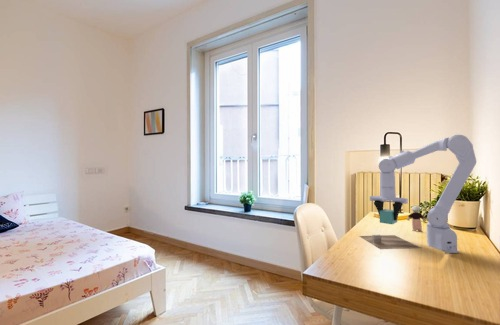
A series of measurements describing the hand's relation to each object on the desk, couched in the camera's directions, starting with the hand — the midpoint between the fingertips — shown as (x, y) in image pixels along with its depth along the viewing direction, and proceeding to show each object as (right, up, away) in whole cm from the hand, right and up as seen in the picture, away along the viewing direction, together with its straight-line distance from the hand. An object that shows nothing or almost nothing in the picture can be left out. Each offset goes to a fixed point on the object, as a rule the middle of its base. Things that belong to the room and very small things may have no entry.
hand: (388, 219), depth 112 cm
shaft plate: (-2, -10, -4) cm, 11 cm away
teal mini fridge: (0, -1, 0) cm, 1 cm away
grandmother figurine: (+21, -10, +15) cm, 28 cm away
